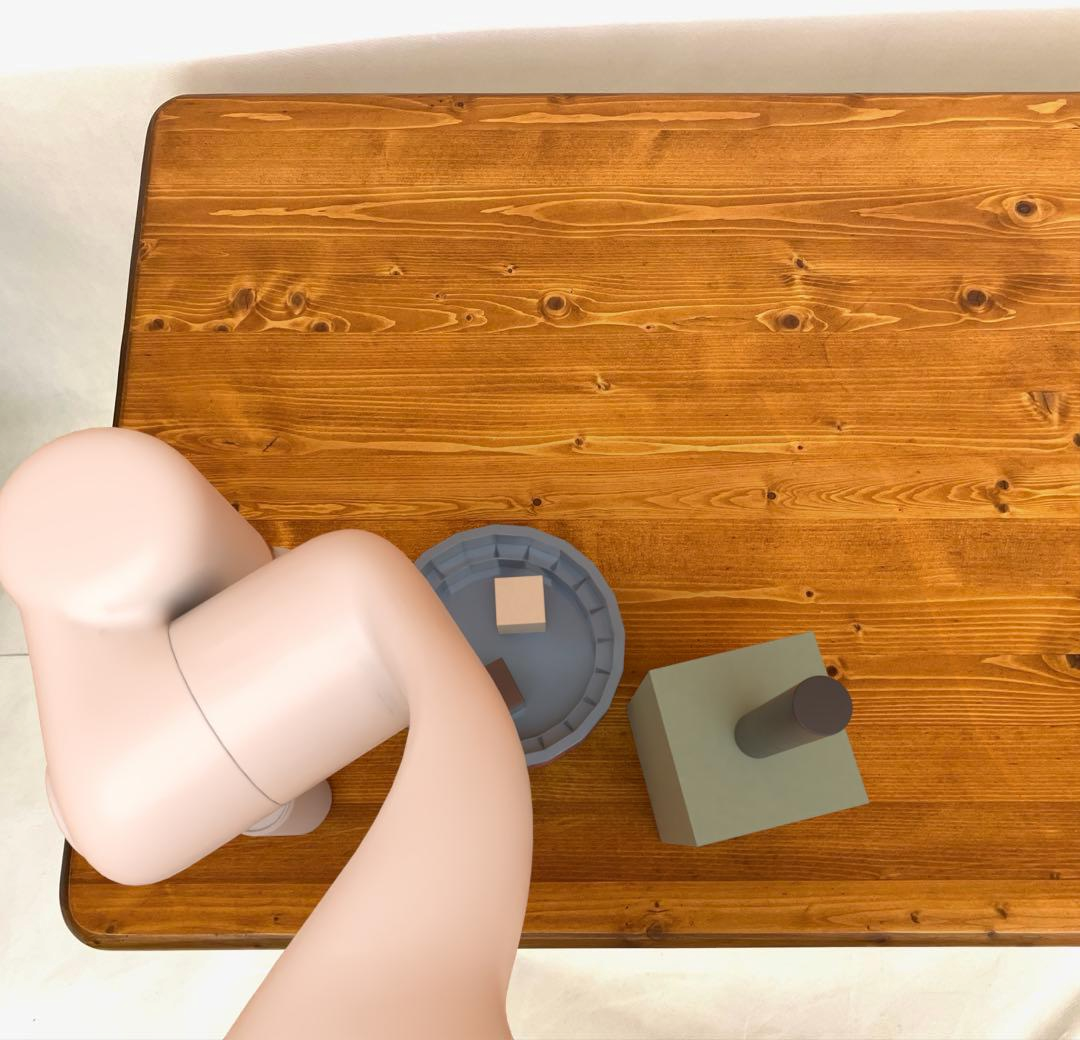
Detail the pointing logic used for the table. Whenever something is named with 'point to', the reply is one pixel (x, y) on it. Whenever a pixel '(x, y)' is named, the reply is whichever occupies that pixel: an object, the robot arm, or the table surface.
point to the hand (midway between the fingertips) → (297, 660)
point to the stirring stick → (795, 718)
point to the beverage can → (296, 814)
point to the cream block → (520, 604)
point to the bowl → (542, 657)
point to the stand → (734, 746)
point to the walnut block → (506, 685)
